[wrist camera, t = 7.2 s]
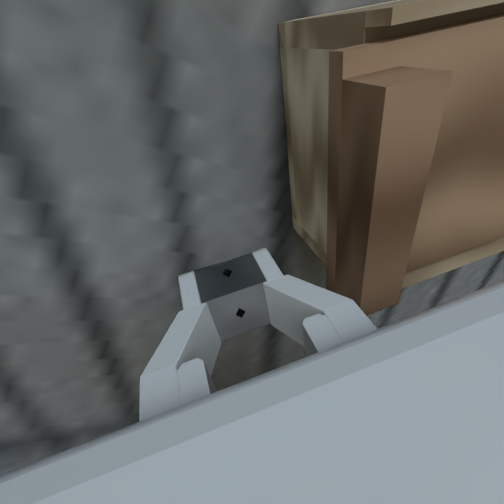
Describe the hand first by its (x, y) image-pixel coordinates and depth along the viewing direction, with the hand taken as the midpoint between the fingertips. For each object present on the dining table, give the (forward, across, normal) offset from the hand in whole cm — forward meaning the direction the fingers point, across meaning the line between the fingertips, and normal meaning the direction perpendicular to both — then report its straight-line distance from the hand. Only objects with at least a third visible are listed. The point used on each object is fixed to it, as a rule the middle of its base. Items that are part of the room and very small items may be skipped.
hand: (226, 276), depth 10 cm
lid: (+2, -13, 0) cm, 13 cm away
